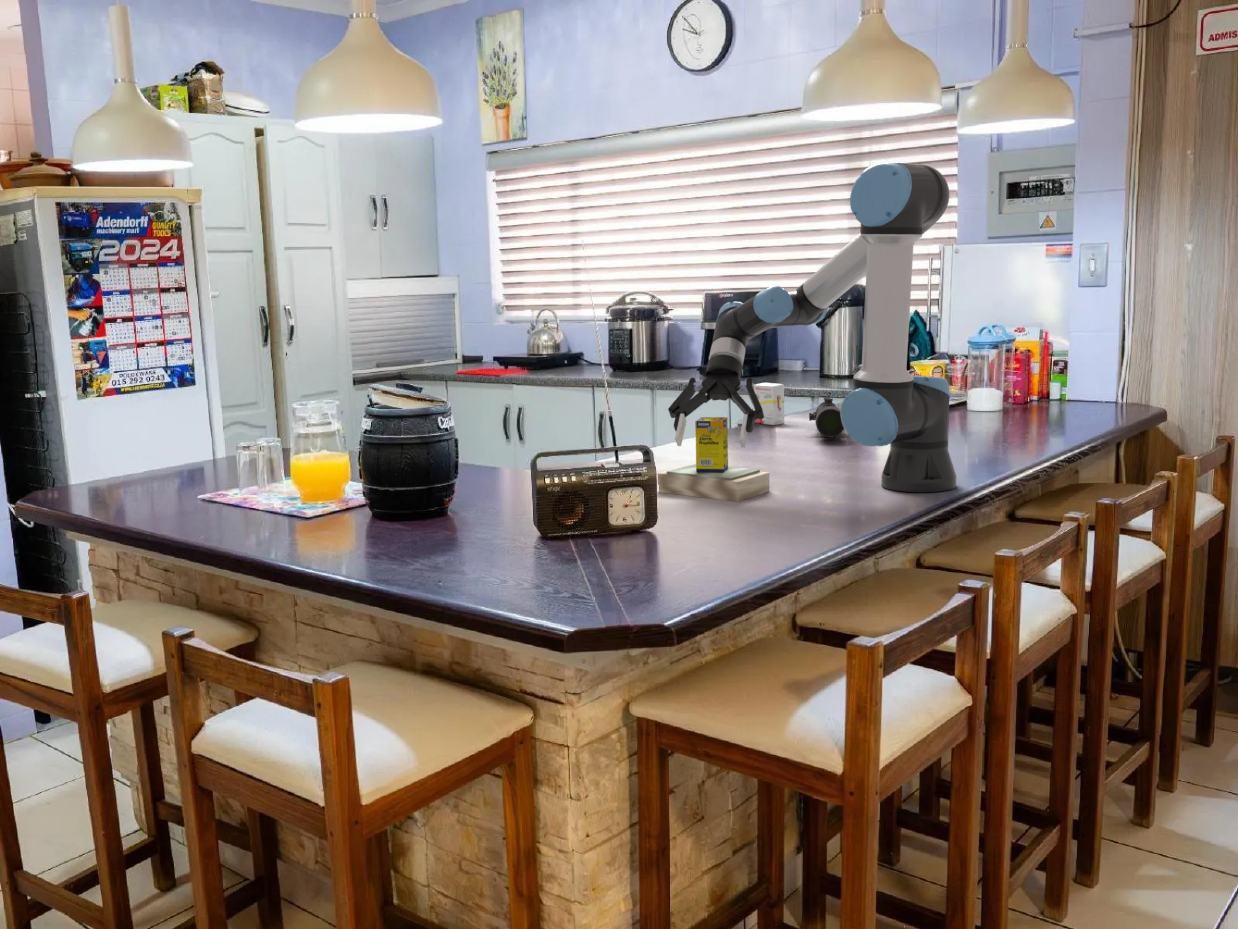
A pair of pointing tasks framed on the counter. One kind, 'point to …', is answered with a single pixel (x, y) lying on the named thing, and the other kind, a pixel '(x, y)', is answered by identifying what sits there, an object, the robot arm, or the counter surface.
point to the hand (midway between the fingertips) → (709, 443)
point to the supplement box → (711, 444)
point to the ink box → (770, 402)
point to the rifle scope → (827, 419)
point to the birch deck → (714, 483)
